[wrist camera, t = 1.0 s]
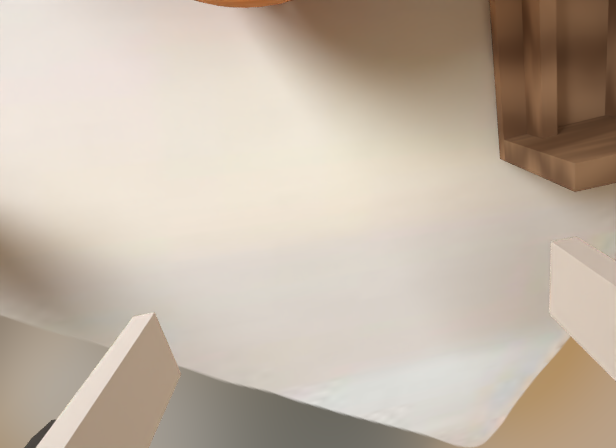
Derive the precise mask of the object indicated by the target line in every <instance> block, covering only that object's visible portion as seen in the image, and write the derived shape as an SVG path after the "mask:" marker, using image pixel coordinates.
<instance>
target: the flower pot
mask: <svg viewBox="0 0 616 448" xmlns="http://www.w3.org/2000/svg"><path fill="white" fill-rule="evenodd" d="M195 1H199V2H203V3H207V4H212V5H217V6H225V7H245V8H248V7H263V6H269V5H276V4H282V3H285V2H288V1H292V0H195Z"/></svg>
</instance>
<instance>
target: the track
mask: <svg viewBox="0 0 616 448" xmlns="http://www.w3.org/2000/svg"><path fill="white" fill-rule="evenodd" d="M490 15H491V30H492V45H493V59H494V74H495V89H496V104H497V119H498V134H499V149H500V159H502V160H504V161H507V162H509V163H511V164H513V165H516V166H518V167H520V168H522V169H525V170H527V171H529V172H531V173H534V174H536V175H538V176H540V177H543V178H545V179H547V180H550V181H552V182H554V183H556V184H559V185H561V186H563V187H565V188H568V189H570V190H572V191H574V192H577V191H581V190H586V189H590V188H594V187H599V186H603V185H608V184H612V183H616V0H490Z"/></svg>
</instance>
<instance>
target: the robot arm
mask: <svg viewBox="0 0 616 448" xmlns="http://www.w3.org/2000/svg"><path fill="white" fill-rule="evenodd" d="M549 314H550V315H551V316H552V317H553V318H554V319H555V320H556V322H557V323H558V324H559V325H560V326H561V327H562V328H563V329H564V330H565V331H566V332H567V333H568V334H569V335H570V336H571V337H572V338H573V339H574V340H575V341H576V342H577V343H578V344H579V345H580V346H581V347H582V348H583V349H584V350H585V351H586V352H587V353H588V354H589V355H590V356H591V357H592V358H593V359H594V360H595V361H597V363H598V364H599V365H600V366H601V367H602V368H603V369H604V370H605V371H606V372H607V373H608V374H609V375H610V376H611V377H612V378H613V379H614V380H615V381H616V260H614V259H612V258H611V257H609V256H607V255H606V254H604V253H603V252H601V251H599V250H598V249H596V248H594V247H593V246H591V245H590V244H588V243H586V242H585V241H583V240H581V239H580V238H578V237H572V238H566V239H561V240H555V241H551V263H550V300H549ZM180 376H181V373H180V370H179V368H178V366H177V363H176V361H175V359H174V356H173V354H172V352H171V349H170V347H169V345H168V342H167V340H166V338H165V336H164V333H163V331H162V329H161V326H160V324H159V322H158V319H157V317H156V315H155V312H154V313H149V314H143V315H137V316H133V318H132V319H131V320H130V322H129V323H128V324H127V326H126V327H125V328H124V330H123V331H122V332H121V334H120V335H119V336H118V338H117V339H116V341H115V342H114V343H113V345H112V346H111V347H110V349H109V350H108V351H107V353H106V354H105V355H104V357H103V358H102V359H101V361H100V362H99V363H98V365H97V366H96V367H95V369H94V370H93V371H92V373H91V374H90V375H89V377H88V378H87V380H86V381H85V382H84V384H83V385H82V386H81V388H80V389H79V391H78V392H77V393H76V394H75V396H74V397H73V398H72V400H71V401H70V402H69V404H68V405H67V406H66V408H65V409H64V411H63V412H62V413H61V414H60V416H59V417H58V418H57V419H56V420H51V422H49V423H48V424H47V425H46V426H45V427H44V428H43V429H42V430H40V431H39V432H38V433H37V434H36V435H35V436H34V437H33V438H32V439H31V440H30V441H29V443H28V444H27V445H26V446H25V448H149V446H150V444H151V441H152V439H153V437H154V434H155V432H156V430H157V428H158V425H159V423H160V421H161V419H162V416H163V414H164V412H165V410H166V407H167V405H168V403H169V400H170V398H171V396H172V394H173V391H174V389H175V387H176V385H177V382H178V380H179V378H180Z"/></svg>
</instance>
